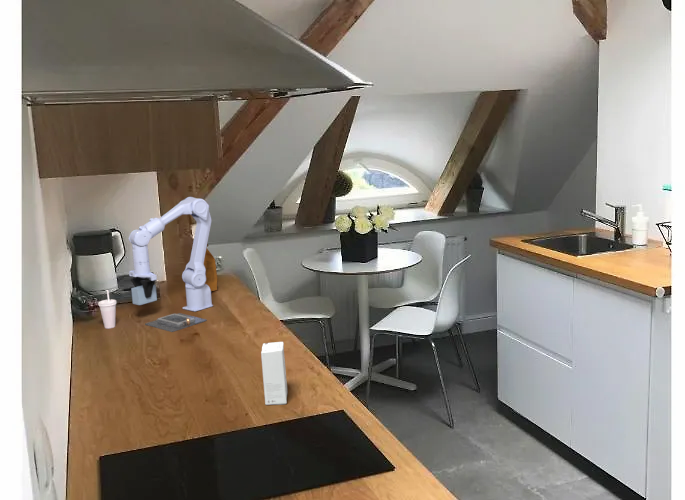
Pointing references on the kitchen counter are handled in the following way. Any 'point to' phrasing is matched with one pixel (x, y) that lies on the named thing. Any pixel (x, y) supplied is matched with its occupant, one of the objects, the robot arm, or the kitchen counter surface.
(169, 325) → the pocket plate
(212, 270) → the coffee package
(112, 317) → the smoothie
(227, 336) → the kitchen counter surface
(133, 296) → the light blue block
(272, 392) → the skincare box
